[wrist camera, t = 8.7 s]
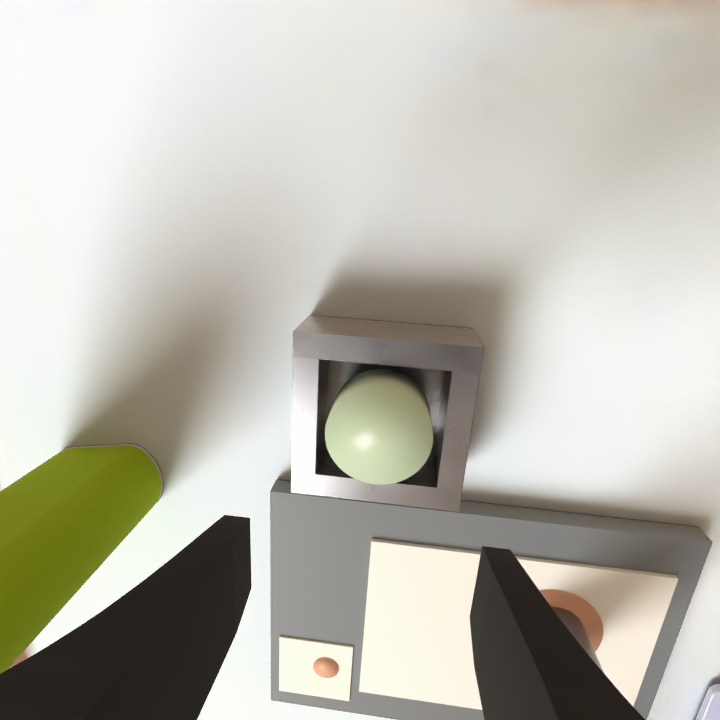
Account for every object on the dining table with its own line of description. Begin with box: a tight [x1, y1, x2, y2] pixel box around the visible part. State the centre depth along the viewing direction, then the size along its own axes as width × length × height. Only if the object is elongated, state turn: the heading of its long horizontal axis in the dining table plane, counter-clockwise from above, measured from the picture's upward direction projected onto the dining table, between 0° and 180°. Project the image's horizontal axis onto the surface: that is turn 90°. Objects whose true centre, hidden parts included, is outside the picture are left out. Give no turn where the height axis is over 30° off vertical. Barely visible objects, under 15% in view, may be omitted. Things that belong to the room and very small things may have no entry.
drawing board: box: [270, 480, 712, 720], centre depth 23 cm, size 20×14×1 cm
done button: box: [325, 369, 433, 485], centre depth 17 cm, size 4×4×2 cm
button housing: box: [291, 315, 484, 512], centre depth 19 cm, size 7×7×3 cm
